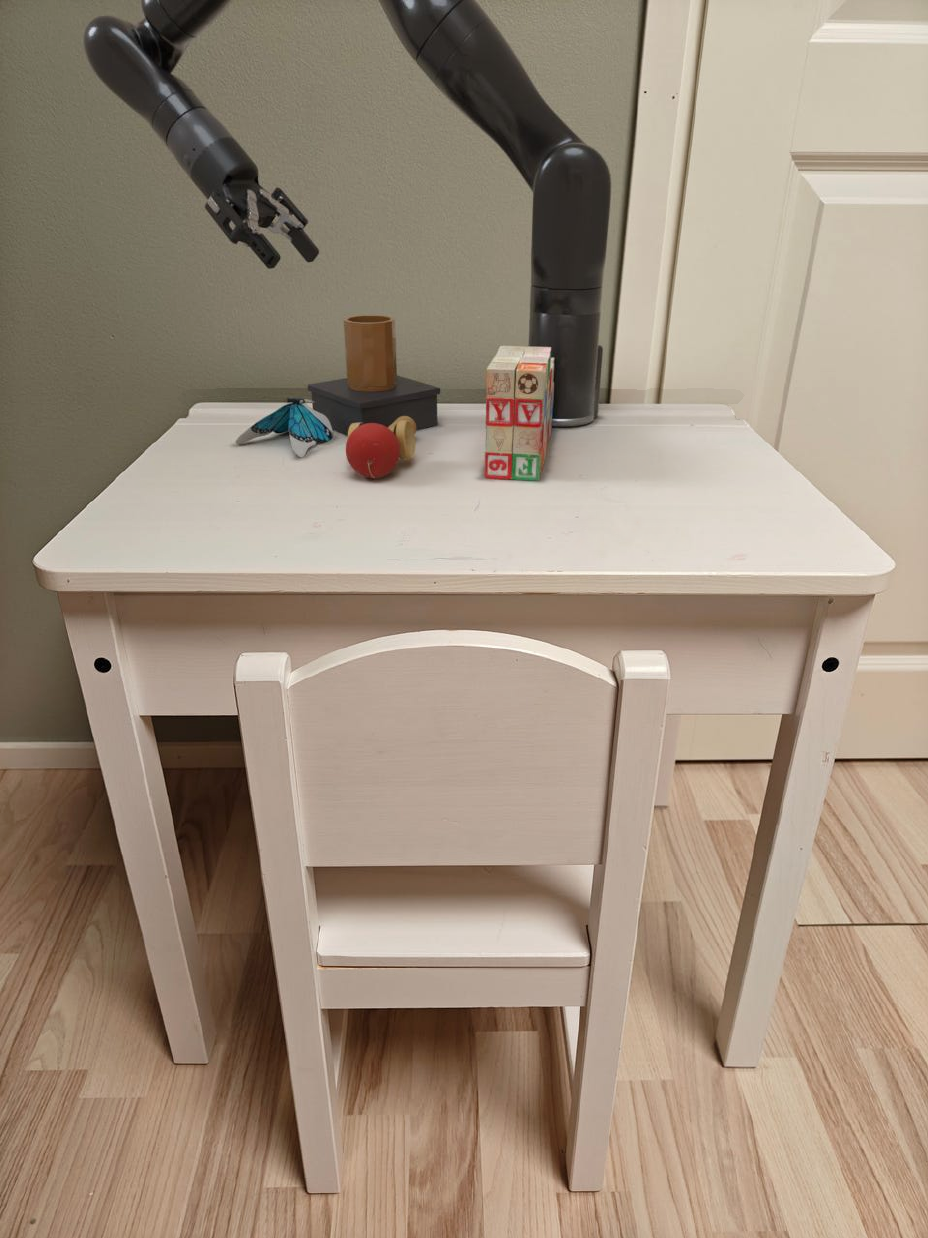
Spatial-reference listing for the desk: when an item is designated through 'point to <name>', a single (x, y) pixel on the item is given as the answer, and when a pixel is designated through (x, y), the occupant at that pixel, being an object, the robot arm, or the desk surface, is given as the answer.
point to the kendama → (380, 446)
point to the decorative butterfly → (293, 425)
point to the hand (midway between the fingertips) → (295, 260)
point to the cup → (370, 353)
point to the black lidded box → (375, 404)
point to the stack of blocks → (518, 412)
